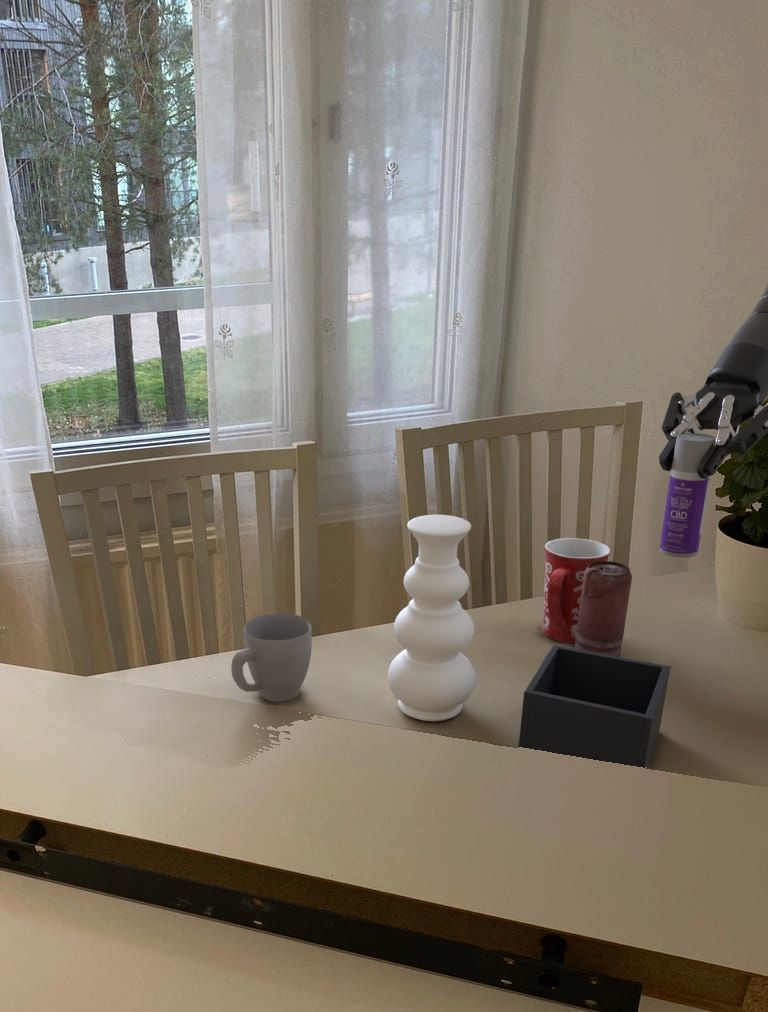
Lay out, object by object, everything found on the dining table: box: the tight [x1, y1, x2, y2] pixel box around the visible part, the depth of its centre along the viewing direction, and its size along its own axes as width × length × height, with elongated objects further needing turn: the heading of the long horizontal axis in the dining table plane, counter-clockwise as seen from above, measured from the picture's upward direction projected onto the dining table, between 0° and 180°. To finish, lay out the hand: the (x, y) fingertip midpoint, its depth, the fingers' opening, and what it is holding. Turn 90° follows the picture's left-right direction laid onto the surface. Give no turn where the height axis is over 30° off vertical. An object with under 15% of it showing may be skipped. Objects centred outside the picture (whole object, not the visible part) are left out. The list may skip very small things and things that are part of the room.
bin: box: [518, 644, 672, 769], centre depth 106 cm, size 14×14×9 cm
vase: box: [387, 514, 476, 722], centre depth 111 cm, size 11×11×25 cm
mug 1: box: [230, 612, 313, 703], centre depth 118 cm, size 12×9×10 cm
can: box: [574, 560, 633, 657], centre depth 125 cm, size 6×6×14 cm
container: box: [659, 433, 717, 559], centre depth 116 cm, size 5×5×15 cm
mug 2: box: [542, 537, 611, 643], centre depth 132 cm, size 13×9×14 cm
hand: (682, 470), depth 113 cm, fingers closed on container, 4 cm apart
